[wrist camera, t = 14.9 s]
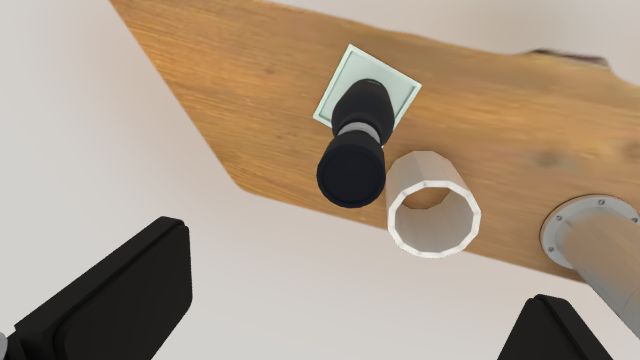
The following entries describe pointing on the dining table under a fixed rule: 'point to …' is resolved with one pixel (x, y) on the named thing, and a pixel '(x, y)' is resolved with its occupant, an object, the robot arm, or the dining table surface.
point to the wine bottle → (357, 146)
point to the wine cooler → (438, 221)
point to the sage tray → (362, 67)
